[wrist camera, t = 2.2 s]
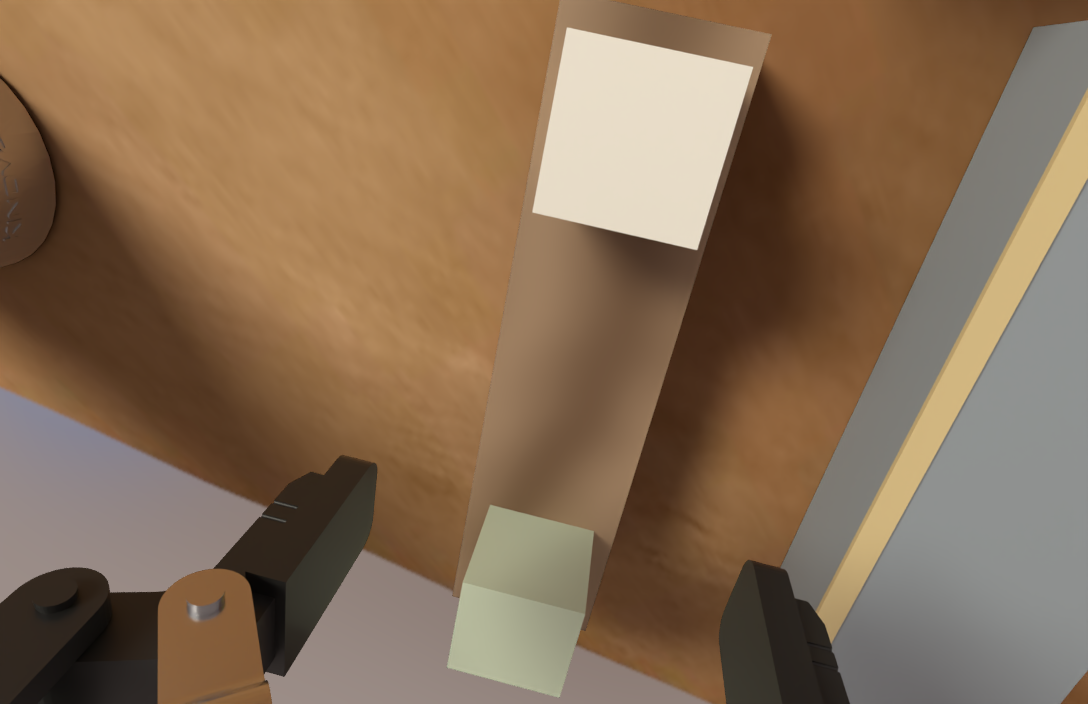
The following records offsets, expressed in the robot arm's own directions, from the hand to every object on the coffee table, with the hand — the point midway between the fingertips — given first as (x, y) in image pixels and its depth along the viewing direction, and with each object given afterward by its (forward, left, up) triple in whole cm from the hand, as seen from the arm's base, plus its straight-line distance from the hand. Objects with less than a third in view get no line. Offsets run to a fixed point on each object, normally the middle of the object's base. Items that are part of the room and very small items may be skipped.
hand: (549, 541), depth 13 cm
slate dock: (+16, 0, -13) cm, 20 cm away
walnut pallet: (0, 0, -13) cm, 13 cm away
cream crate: (0, +8, -8) cm, 11 cm away
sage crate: (0, -8, -8) cm, 12 cm away
